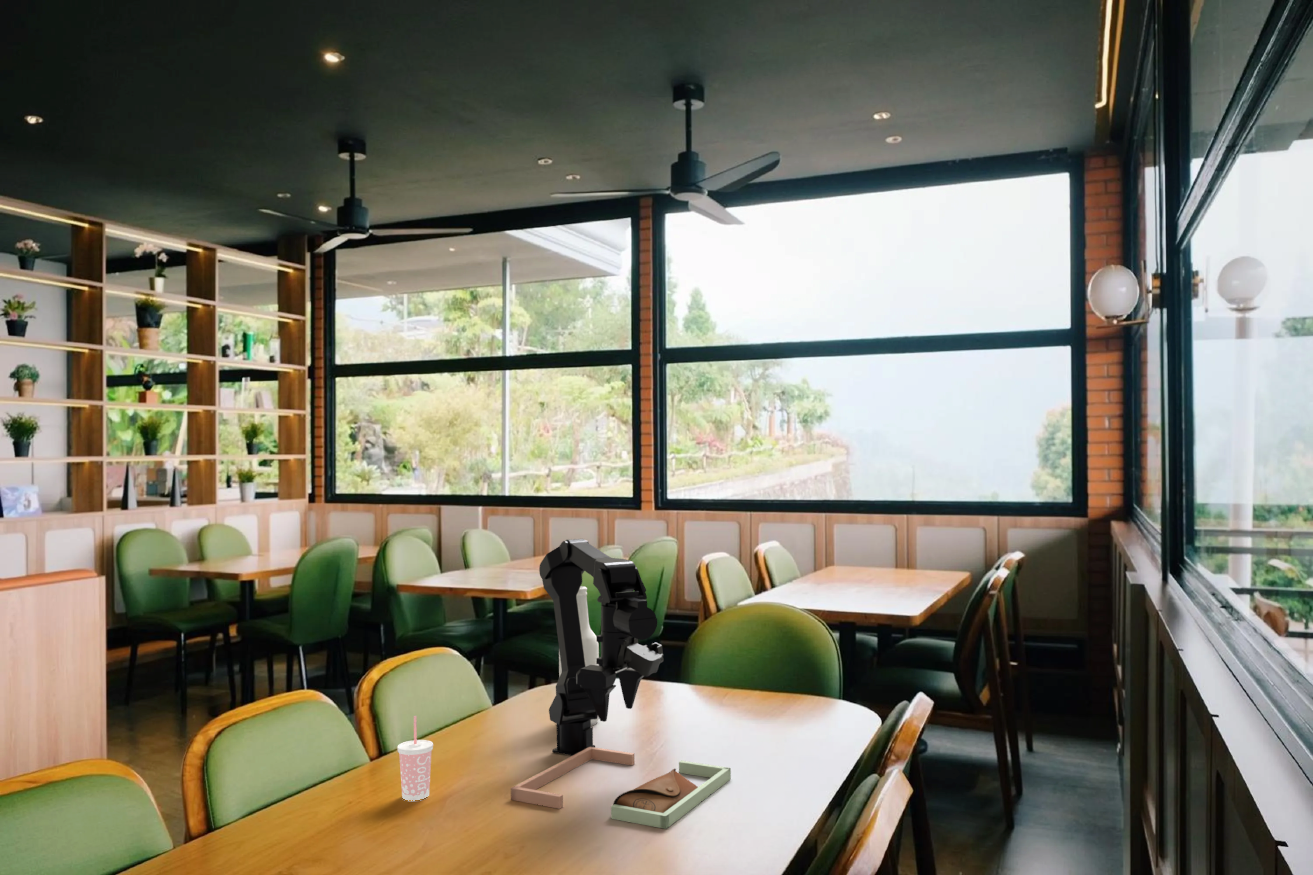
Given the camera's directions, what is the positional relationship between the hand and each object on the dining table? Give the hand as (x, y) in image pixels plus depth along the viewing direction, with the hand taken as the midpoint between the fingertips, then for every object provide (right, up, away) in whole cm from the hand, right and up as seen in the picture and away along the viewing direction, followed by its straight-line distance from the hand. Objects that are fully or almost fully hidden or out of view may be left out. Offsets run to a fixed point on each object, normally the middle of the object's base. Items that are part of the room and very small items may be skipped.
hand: (616, 714), depth 175 cm
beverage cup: (-35, -12, -9) cm, 38 cm away
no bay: (-7, -12, -1) cm, 14 cm away
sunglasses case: (+8, -12, -14) cm, 20 cm away
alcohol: (-10, -13, +37) cm, 40 cm away
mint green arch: (+10, -11, -11) cm, 19 cm away
